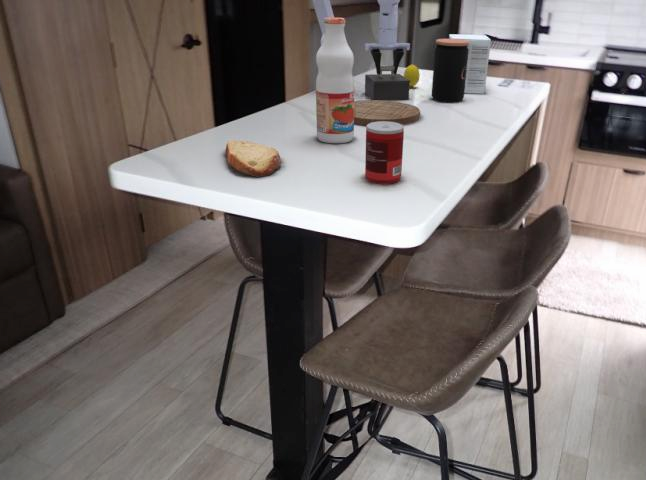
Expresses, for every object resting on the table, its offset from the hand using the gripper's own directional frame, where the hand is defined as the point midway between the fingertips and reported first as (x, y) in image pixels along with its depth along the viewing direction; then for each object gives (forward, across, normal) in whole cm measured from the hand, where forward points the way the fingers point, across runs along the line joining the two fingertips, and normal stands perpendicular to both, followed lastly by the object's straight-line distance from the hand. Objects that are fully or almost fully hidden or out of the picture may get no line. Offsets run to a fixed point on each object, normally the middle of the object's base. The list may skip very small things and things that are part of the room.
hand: (386, 73), depth 195 cm
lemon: (+7, +13, +13) cm, 20 cm away
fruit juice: (+7, -27, -50) cm, 57 cm away
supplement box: (+7, +31, +7) cm, 33 cm away
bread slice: (+7, -50, -66) cm, 83 cm away
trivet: (+7, -10, -27) cm, 30 cm away
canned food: (+7, -23, -82) cm, 85 cm away
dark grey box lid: (+2, 0, -1) cm, 2 cm away
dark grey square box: (+7, 0, -1) cm, 7 cm away
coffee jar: (+7, +19, -8) cm, 22 cm away
